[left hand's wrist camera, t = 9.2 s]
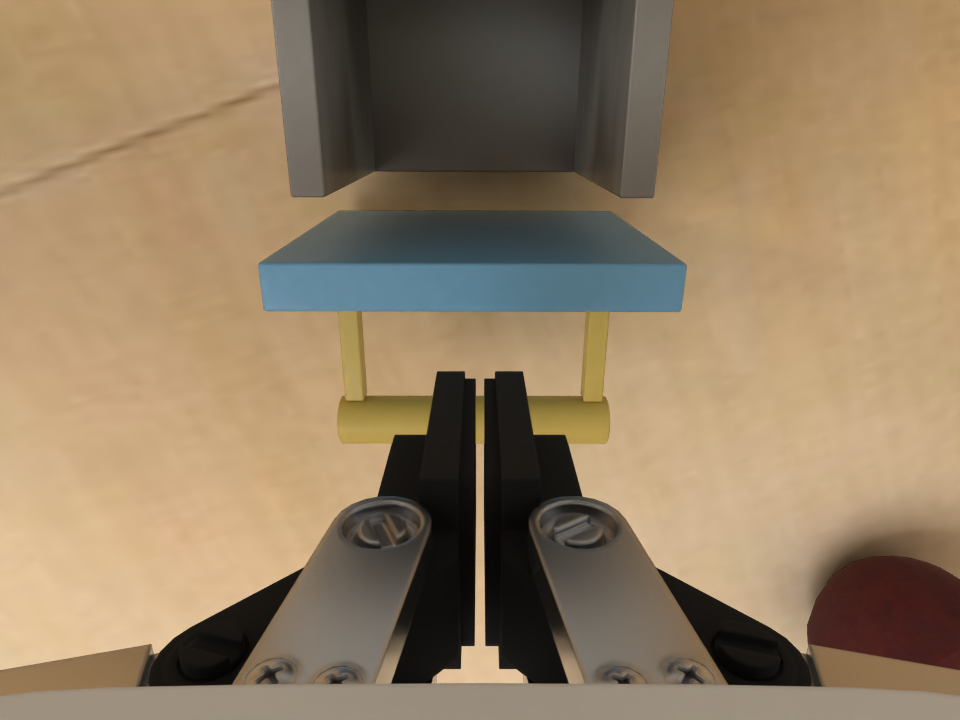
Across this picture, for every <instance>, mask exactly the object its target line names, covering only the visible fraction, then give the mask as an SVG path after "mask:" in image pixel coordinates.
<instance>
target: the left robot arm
mask: <svg viewBox="0 0 960 720" xmlns="http://www.w3.org/2000/svg"><path fill="white" fill-rule="evenodd" d="M475 553H476V379H465V371H437V376H436V381H435V387H434V393H433V399H432V405H431V411H430V417H429V422H428V428H427V434H426V435H395V436H394V438H393V442H392V445H391V449H390V453H389V456H388V460H387V464H386V467H385V471H384V475H383V478H382V482H381V486H380V489H379V493H378V497H374V498H369V499H365V500H362V501H359V502H357V503H354V504H352V505H350V506H349V507H347V508H346V509H344V510H342V511H341V512H340V513H339V514H338V516H337V517H336V518H335V519H334V520H333V522H332V524H331V525H330V527H329V528H328V530H327V532H326V533H325V535H324V536H323V538H322V540H321V541H320V543H319V545H318V546H317V548H316V549H315V551H314V553H313V554H312V556H311V557H310V559H309V561H308V562H307V564H306V566H305V567H304V568H302V569H300V570H298V571H296V572H294V573H293V574H291V575H289V576H287V577H285V578H283V579H281V580H279V581H277V582H276V583H274V584H272V585H270V586H268V587H266V588H264V589H262V590H260V591H258V592H257V593H255V594H253V595H251V596H249V597H247V598H245V599H243V600H241V601H240V602H238V603H236V604H234V605H232V606H230V607H228V608H226V609H224V610H223V611H221V612H219V613H217V614H215V615H213V616H211V617H209V618H207V619H205V620H204V621H202V622H200V623H198V624H196V625H194V626H192V627H190V628H189V629H187V630H186V631H184V632H183V633H181V634H180V635H178V636H177V637H175V638H174V639H173V640H172V641H171V642H170V643H169V644H168V645H167V646H166V647H165V648H164V649H162V650H161V651H160V653H157V654H154V653H153V649H152V644H149V645H144V646H138V647H132V648H126V649H120V650H115V651H109V652H103V653H97V654H92V655H86V656H80V657H74V658H69V659H63V660H57V661H51V662H45V663H40V664H34V665H28V666H22V667H17V668H11V669H5V670H0V720H960V670H955V669H949V668H943V667H938V666H932V665H926V664H920V663H915V662H909V661H903V660H897V659H891V658H886V657H880V656H874V655H868V654H863V653H857V652H851V651H845V650H840V649H834V648H828V647H822V646H816V645H811V644H808V649H807V653H806V654H803V653H800V651H799V650H797V649H796V648H795V647H794V646H793V645H792V644H791V643H790V642H789V641H788V640H787V639H786V638H785V637H783V636H782V635H780V634H779V633H777V632H776V631H774V630H773V629H771V628H770V627H768V626H766V625H764V624H762V623H760V622H758V621H756V620H755V619H753V618H751V617H749V616H747V615H745V614H743V613H741V612H739V611H737V610H736V609H734V608H732V607H730V606H728V605H726V604H724V603H722V602H720V601H719V600H717V599H715V598H713V597H711V596H709V595H707V594H705V593H703V592H702V591H700V590H698V589H696V588H694V587H692V586H690V585H688V584H686V583H684V582H683V581H681V580H679V579H677V578H675V577H673V576H671V575H669V574H667V573H666V572H664V571H662V570H660V569H658V568H656V567H655V566H654V564H653V562H652V561H651V559H650V557H649V556H648V554H647V553H646V551H645V549H644V548H643V546H642V545H641V543H640V541H639V540H638V538H637V536H636V535H635V533H634V532H633V530H632V528H631V527H630V525H629V524H628V522H627V520H626V519H625V518H624V517H623V516H622V514H621V513H620V512H619V511H618V510H616V509H614V508H613V507H611V506H610V505H608V504H606V503H603V502H601V501H598V500H595V499H591V498H586V497H582V493H581V489H580V486H579V482H578V478H577V475H576V471H575V467H574V464H573V460H572V456H571V453H570V449H569V445H568V442H567V438H566V436H565V435H534V434H533V428H532V422H531V417H530V411H529V405H528V399H527V393H526V387H525V381H524V376H523V371H495V379H484V553H485V645H486V646H499V669H517V670H518V671H520V672H521V673H522V674H523V684H511V683H449V684H437V674H438V673H439V672H440V671H442V670H443V669H461V646H474V645H475Z"/></svg>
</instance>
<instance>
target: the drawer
mask: <svg viewBox="0 0 960 720" xmlns="http://www.w3.org/2000/svg"><path fill="white" fill-rule="evenodd" d="M673 2H674V0H271V6H272V16H273V26H274V35H275V45H276V55H277V64H278V74H279V84H280V94H281V103H282V113H283V123H284V132H285V142H286V152H287V161H288V171H289V181H290V190H291V196H292V197H325V196H327V195H329V194H331V193H333V192H335V191H337V190H339V189H341V188H343V187H345V186H347V185H349V184H351V183H353V182H355V181H357V180H359V179H361V178H363V177H364V176H366V175H368V174H370V173H372V172H374V171H408V172H576V173H577V174H579V175H581V176H583V177H585V178H586V179H588V180H590V181H592V182H594V183H595V184H597V185H599V186H601V187H603V188H604V189H606V190H608V191H610V192H612V193H613V194H615V195H617V196H619V197H621V198H653V197H654V192H655V182H656V172H657V162H658V152H659V142H660V132H661V122H662V112H663V102H664V92H665V82H666V72H667V62H668V52H669V42H670V32H671V22H672V12H673ZM258 268H259V276H260V284H261V291H262V299H263V307H264V310H265V311H338V316H339V328H340V340H341V352H342V365H343V377H344V389H345V396H342V398H341V400H340V403H339V407H338V418H337V426H338V435H339V439H340V442H341V443H343V444H392V442H393V438H394V436H395V435H426V434H427V428H428V422H429V417H430V411H431V405H432V399H433V396H366V394H367V385H366V371H365V356H364V342H363V327H362V312H361V311H466V312H586V320H585V335H584V350H583V365H582V380H581V396H527V399H528V405H529V411H530V417H531V422H532V428H533V434H534V435H565V436H566V438H567V442H568V444H605V443H607V441H608V437H609V431H610V413H609V405H608V401H607V399H606V397H604V396H603V385H604V373H605V360H606V348H607V335H608V323H609V312H679V311H681V309H682V301H683V292H684V284H685V276H686V268H687V266H686V264H685V263H684V262H682V261H681V260H679V259H678V258H677V257H675V256H674V255H672V254H671V253H669V252H668V251H667V250H665V249H664V248H662V247H661V246H659V245H658V244H657V243H655V242H654V241H652V240H651V239H649V238H648V237H647V236H645V235H644V234H642V233H641V232H639V231H638V230H637V229H635V228H634V227H632V226H631V225H629V224H628V223H627V222H625V221H624V220H622V219H621V218H619V217H618V216H617V215H615V214H614V213H612V212H611V211H338V212H336V213H335V214H333V215H332V216H330V217H329V218H327V219H325V220H324V221H322V222H321V223H319V224H318V225H316V226H315V227H313V228H312V229H310V230H309V231H307V232H306V233H304V234H303V235H301V236H300V237H298V238H297V239H295V240H294V241H292V242H290V243H289V244H287V245H286V246H284V247H283V248H281V249H280V250H278V251H277V252H275V253H274V254H272V255H271V256H269V257H268V258H266V259H265V260H263V261H262V262H260V263H259V265H258ZM476 444H484V396H476Z"/></svg>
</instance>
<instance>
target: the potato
mask: <svg viewBox="0 0 960 720" xmlns="http://www.w3.org/2000/svg"><path fill="white" fill-rule="evenodd" d="M807 638H808V644H811V645H816V646H822V647H828V648H834V649H840V650H845V651H851V652H857V653H863V654H868V655H874V656H880V657H886V658H891V659H897V660H903V661H909V662H915V663H920V664H926V665H932V666H938V667H943V668H949V669H955V670H960V579H958V578H957V577H955V576H953V575H952V574H950V573H948V572H947V571H945V570H943V569H942V568H940V567H937V566H935V565H932V564H930V563H927V562H924V561H920V560H916V559H913V558H907V557H898V556H878V557H870V558H866V559H862V560H858V561H854V562H852V563H851V564H849V565H848V566H846V567H845V568H843V569H842V570H840V571H839V572H837V573H836V574H834V575H833V576H832V578H831V579H830V580H829V582H828V583H827V585H826V586H825V587H824V589H823V590H822V592H821V593H820V594H819V596H818V597H817V599H816V602H815V604H814V607H813V610H812V613H811V616H810V618H809V621H808V624H807Z"/></svg>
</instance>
